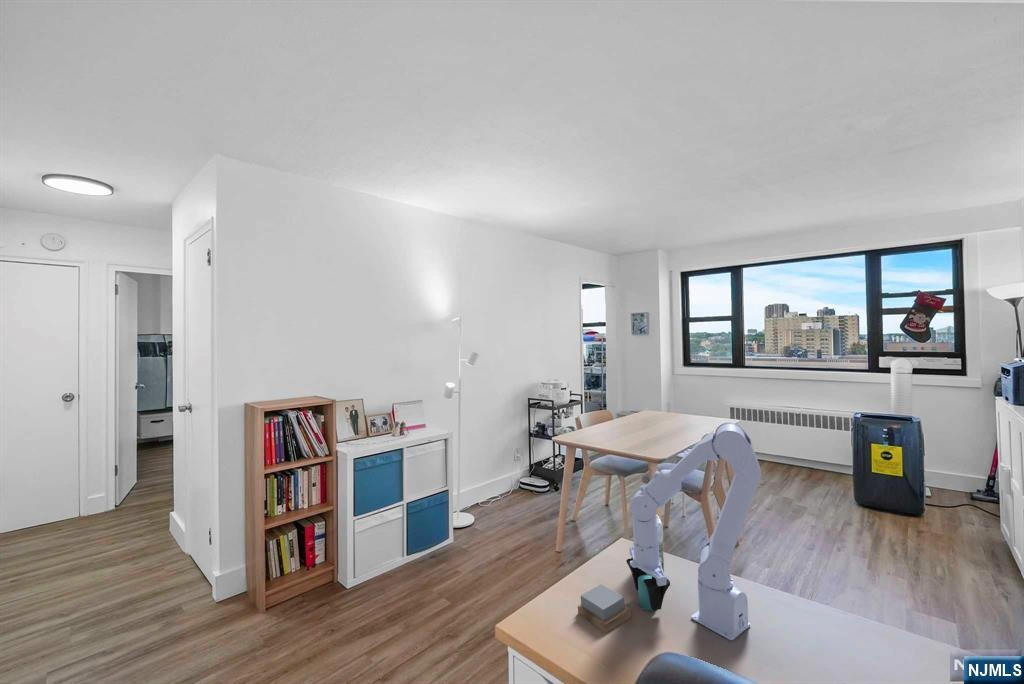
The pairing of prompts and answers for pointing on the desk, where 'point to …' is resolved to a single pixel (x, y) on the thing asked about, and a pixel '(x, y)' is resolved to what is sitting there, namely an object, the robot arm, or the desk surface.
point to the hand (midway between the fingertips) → (648, 599)
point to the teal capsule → (644, 593)
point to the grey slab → (602, 602)
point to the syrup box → (660, 542)
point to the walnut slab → (609, 622)
